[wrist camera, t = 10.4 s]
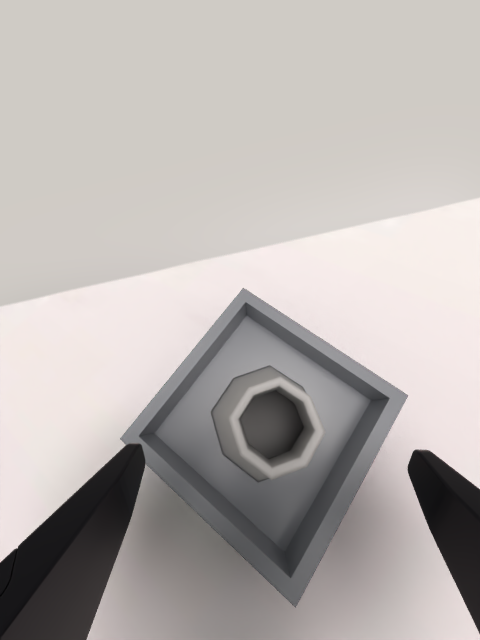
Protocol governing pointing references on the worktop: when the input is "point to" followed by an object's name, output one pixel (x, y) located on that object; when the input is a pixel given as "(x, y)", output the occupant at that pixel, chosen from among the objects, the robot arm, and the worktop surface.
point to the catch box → (286, 491)
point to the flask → (267, 424)
